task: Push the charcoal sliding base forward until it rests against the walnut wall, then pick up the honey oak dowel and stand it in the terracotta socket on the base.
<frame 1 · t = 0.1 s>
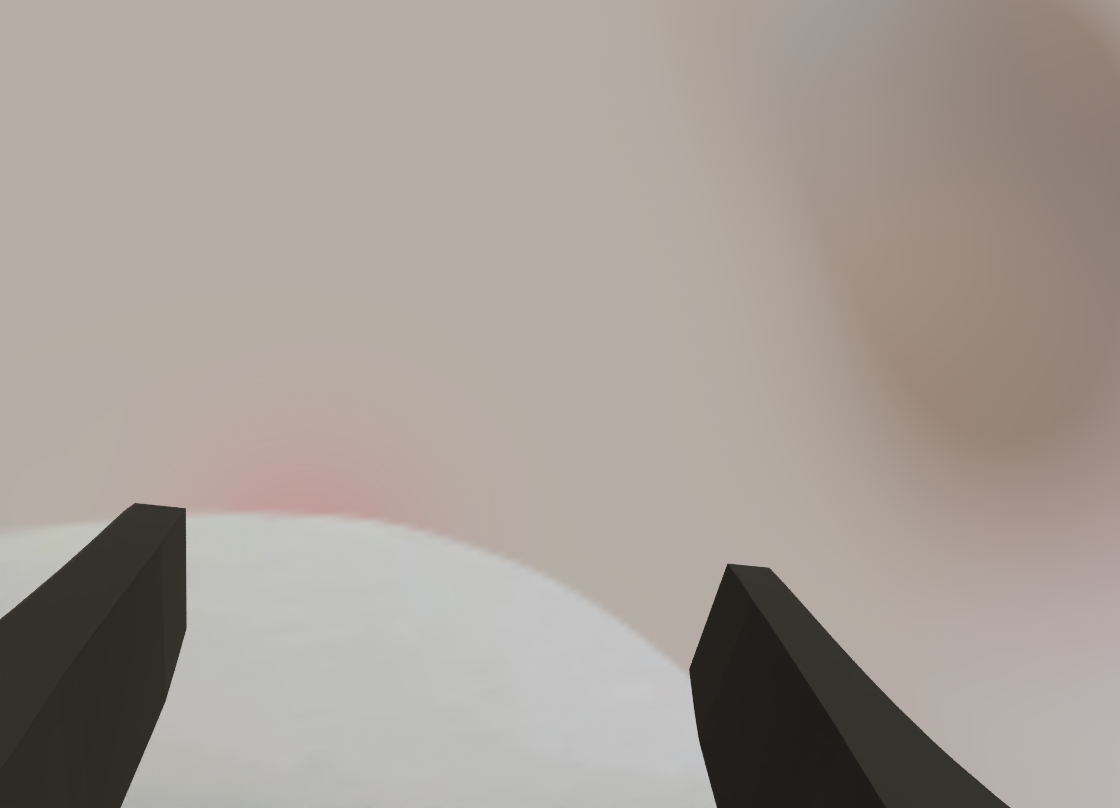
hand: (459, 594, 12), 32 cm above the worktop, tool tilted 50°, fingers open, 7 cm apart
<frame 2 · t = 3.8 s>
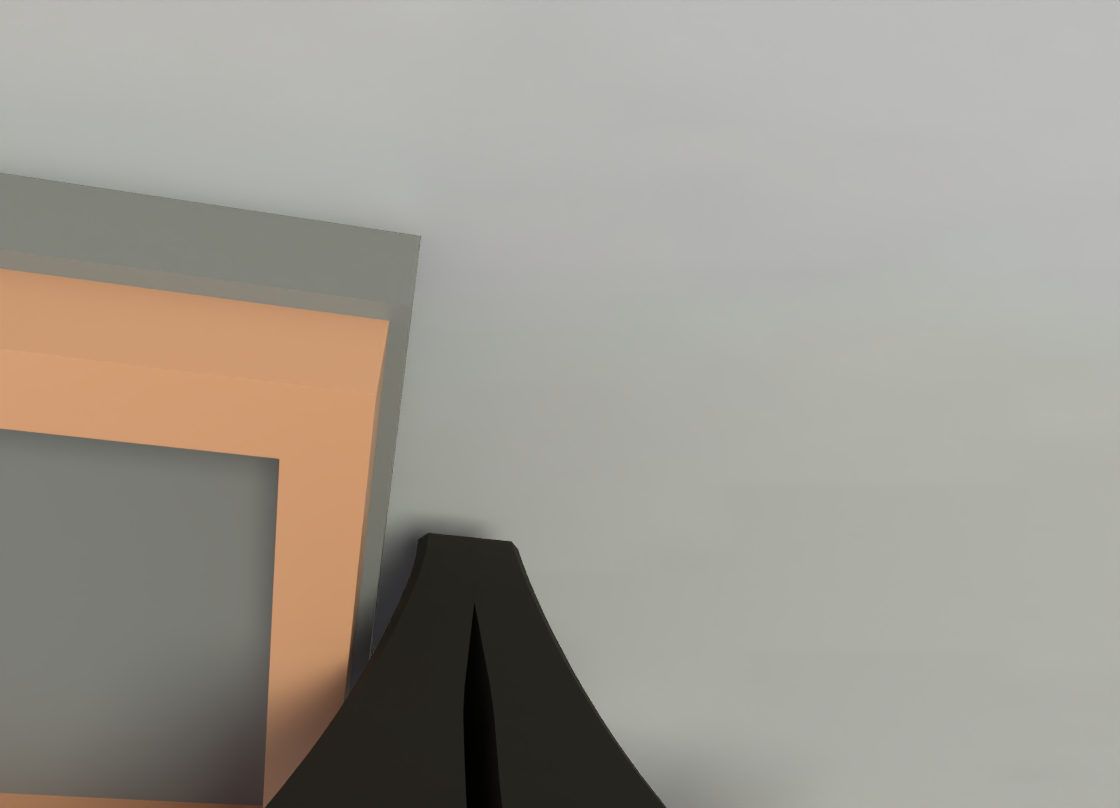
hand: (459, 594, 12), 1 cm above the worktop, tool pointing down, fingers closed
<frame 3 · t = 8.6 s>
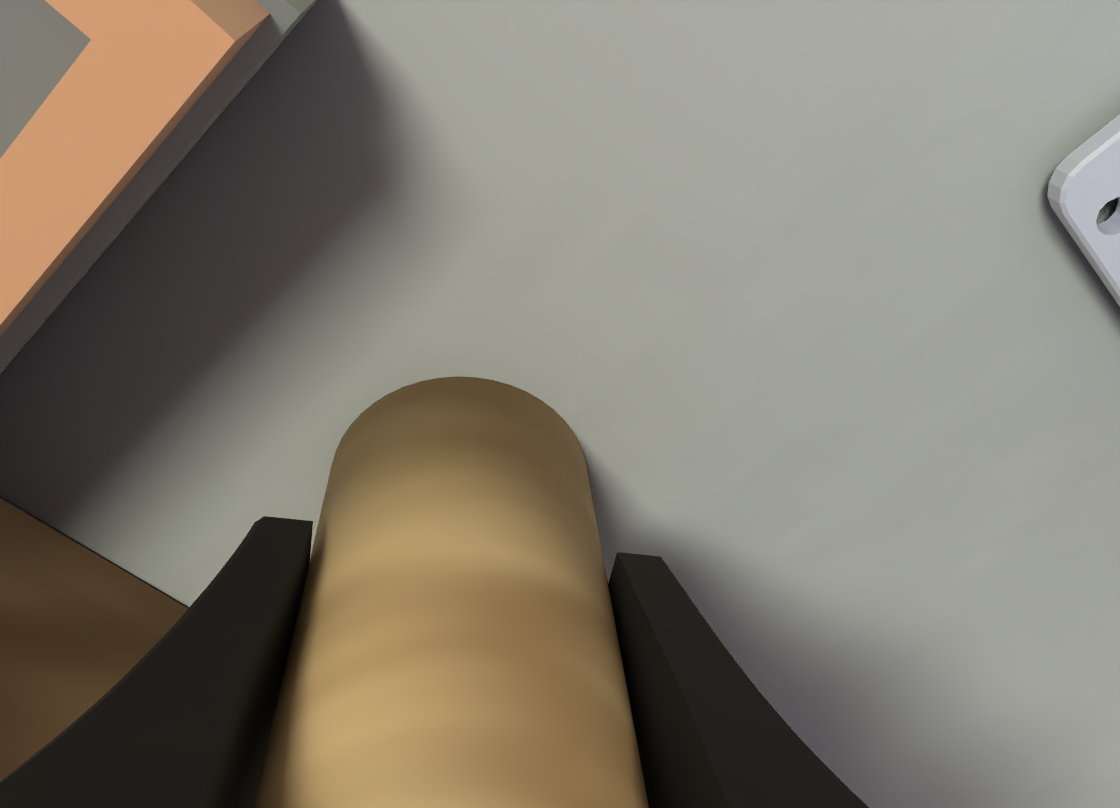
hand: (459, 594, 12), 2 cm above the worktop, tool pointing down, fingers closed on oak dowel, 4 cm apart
oak dowel: (460, 488, 15), on the worktop, touching gripper
when the fingers open (6 cm above the worktop, at t = 12.7 s): oak dowel stays where it is, resting on sliding base.
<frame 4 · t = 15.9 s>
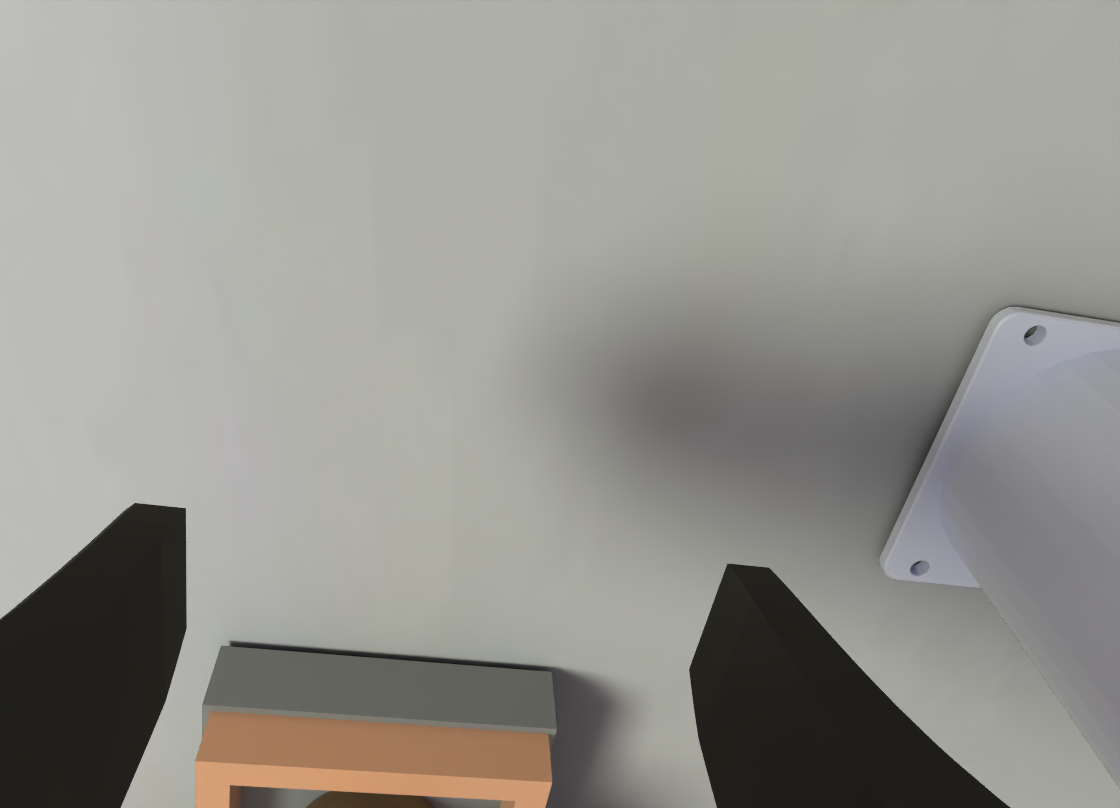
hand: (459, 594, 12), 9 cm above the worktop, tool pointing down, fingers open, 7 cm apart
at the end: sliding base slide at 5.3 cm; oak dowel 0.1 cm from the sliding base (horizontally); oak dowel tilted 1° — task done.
